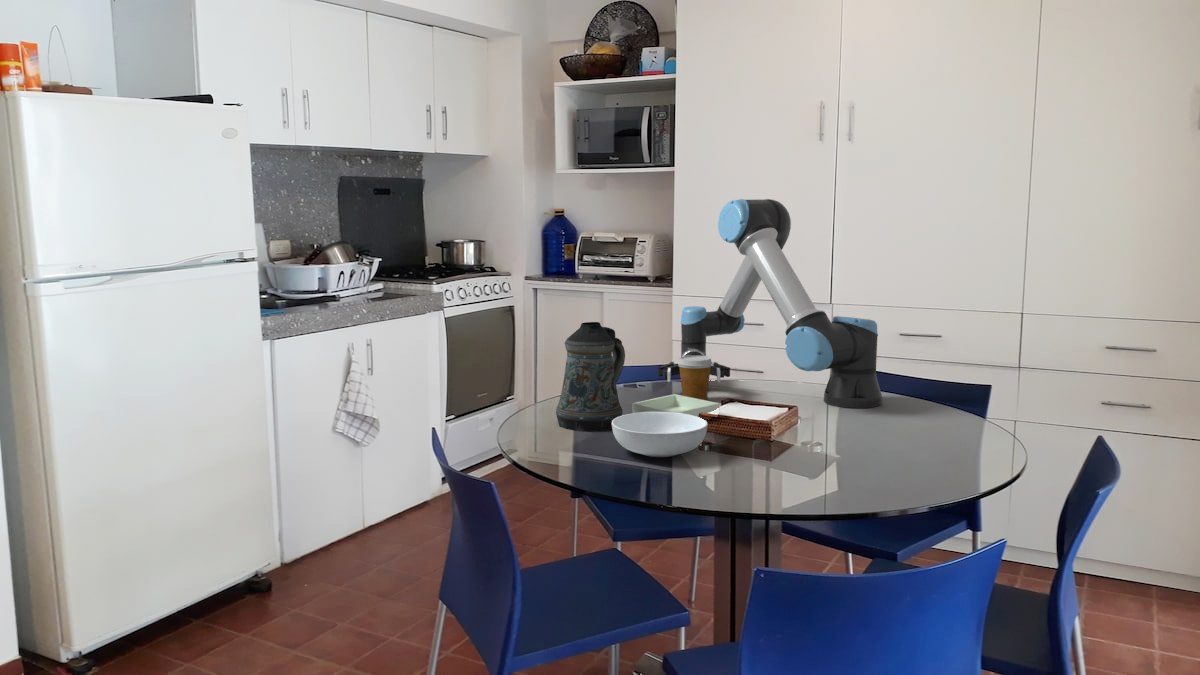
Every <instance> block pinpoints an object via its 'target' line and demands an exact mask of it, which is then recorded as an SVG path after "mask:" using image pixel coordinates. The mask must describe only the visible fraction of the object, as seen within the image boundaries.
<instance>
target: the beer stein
mask: <svg viewBox="0 0 1200 675" xmlns="http://www.w3.org/2000/svg"><path fill="white" fill-rule="evenodd" d="M564 347H565V350H566V359H565V360H566V361H565V368H564V375H563V382H562V387H561V392H560V395H559V396H560V397H559V400H558V404H557V406H556V409H555V415H556V418H557V424H558V426H559V427H561V428H563V429H566V430H570V431H576V432H599V431H606V430H611V429H612V421H613V420H614V419H615V418H617V417H619V416H622V415H623V408H622V406H621V403H620V400H619V397H618V389H617V382H618V380H619V378H620V377H621V374H622V371H623V369H624V365H625V360H626V352H625V347H624V345H623V342H622V340H621V339H620V338H618V337H616V331H615V329H613V328H610V327H607V326H602V324H601V322H598V321H588V322H587V321H586V322H581V323H580V327H579V328H578V329H576V330H575V331H574V332H573V333H572V334H571V335H569V336H568V337H566V339H565V341H564Z"/></svg>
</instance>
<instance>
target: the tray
mask: <svg viewBox="0 0 1200 675" xmlns="http://www.w3.org/2000/svg"><path fill="white" fill-rule="evenodd" d="M631 408H632V409H631V410H632V413H639V412H675V413H683V414H689V415H693V416H697V417H698V415H699V413H701V412H711V411H714V410H716V409H717V408H719V409H720V402H715V401H710V400H707V399H706V400H701V399H696V398H691V397H686V396H683V395H682V394H681V395H680V394H675V393H674V394H670V395H664V396H660V397H659V396H658V397H655V398H651V399H646V400H641V401H636V402H632V405H631Z"/></svg>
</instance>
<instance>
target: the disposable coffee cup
mask: <svg viewBox="0 0 1200 675" xmlns="http://www.w3.org/2000/svg"><path fill="white" fill-rule="evenodd" d="M712 363H713V361H712V358H711V357H710V356H707V355H706V356H682V357H681V356H680V357H679V358H678V361H677V365H678V366H679V368H680V374H679V375H680V376H679V377H680V383H681V390H682V391H681V393H682V394H681V395H682V396H686V397H691V398H696V399H701V400H706V401H707V398H708V397H707V396H708V390H709V384H710V383H709V382H710V376H711V375H710V368H711V366H712Z"/></svg>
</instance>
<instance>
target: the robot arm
mask: <svg viewBox="0 0 1200 675" xmlns="http://www.w3.org/2000/svg"><path fill="white" fill-rule="evenodd" d="M717 226H718V227H717V228H718V233H719V236H720V237H721V239H722V240H723V241H725V242H727V243H729V244H734V245H735V247H736V248H737V250H738V252H739V253H740V255H743V256H744V258H743V260H742V262H741V264H740V266H739V267H738V270H737V272H736V274H735V276H734V277H733V279H732V281H731V283H730V285H729V287H728V289H727V291H726V292H725V294H724V296H723V299H722V300H721V302H720V304H719V306H718V307H717V310H714V311H707V309H706V308H705V307H704V306H700V305H699V306H695V305H694V306H684V307H683V308H682V310H681V315H680V316H681V317H680V325H681V326H680V327H681V330H680V331H681V332H680V333H681V344H680V347H681V348H680V349H681V350H680V357H682V356H707V337H712V336H721V335H732V334H735V333H739V332H741V330H743V328H744V326H745V316H744V313H745V311H746V309H747V306H748V305H749V303H750V301H751V300H752V298H753V296H754V294H755V292H756V290H757V289H758V287H759V285H760V283H761V282H762V283H763V285H764V287H765V289H766V290H767V292H768V294H769V295H770V297H771V299H772V300H773V302H774V304H775V306H776V307H777V309H778V312H779V313H780V315H781V316H782V318H783V321H784V322H785V324H786V325H787V326H786V329H785V336H786V338H785V343H784V344H785V353H786V356H787V357H788V359H789V361H790V362H791V363H792V365H793V366H795V367H796V368H798V369H799V370H801V371H805V372H822V371H824V370H830V369H831V372H830V375H829V379H828V381H827V384H826V387H825V389H824V392H823V401H824V402H825V403H826V404H828V405H831V406H834V407H835V406H836V407H842V408H849V409H850V408H853V409H856V408H857V409H866V408H875V407H878V406H881V405H882V404H883V394H882V391H881V387H880V384H879V381H878V377H877V360H878V359H877V358H878V357H877V356H878V355H877V352H878V336H879V332H878V324H877V322H876V321H875V320H873V319H870V318H869V319H868V318H860V317H859V318H858V317H849V316H839V315H838V316H837V315H835V316H833V317H832V321H831V320H830V318H829V317H828V315H827V313H826V311H824V310H820V309H817V308H816V306H815V304H814V303H813V301H812V299H811V297H809V294H808V292H807V290H806V289H805V287H804V286H803V284H802V283H801V281H800V279H799V277H798V276H797V273H796V272H795V270H794V269H793V267H792V265H791V264H790V262H789V260H788V258H787V257H786V255H785V254H784V251H783V248H784V247H785V245H786V243H787V241H788V239H789V236H790V231H791V229H792V227H791V226H792V220H791V216H790V212H789V211H788V209H787V208H786V206H785V205H784V204H782V203H781V202H780V201H778V200H775V199H769V198H767V199H744V198H740V199H734V200H730V201H728V202H727V203H726V204H725V205H724V206H723V207H722V209H721V210H720V212H719V215H718V221H717ZM677 375H680V368H679V366H678V364H676V362H674V361H671V362H669V363H666V364H664V365H660V366H657V377H662V376H663V380H667V383H670V382H671V378H672V377H673V376H677ZM710 376H712V377H713V376H714V377H716V381H717V383H721V378H723V379H724V378H725V377H727V378H730V377H731V367H730V366H729V367H728V366H726V365H722V364H720V363H718V362H716V361H714V362H712V366H711V368H710Z"/></svg>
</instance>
